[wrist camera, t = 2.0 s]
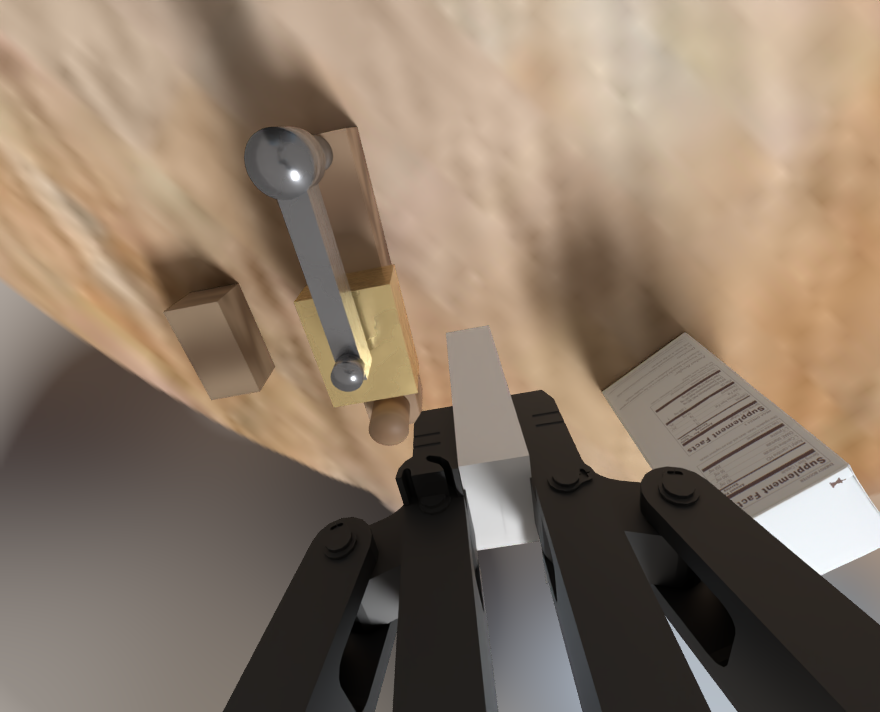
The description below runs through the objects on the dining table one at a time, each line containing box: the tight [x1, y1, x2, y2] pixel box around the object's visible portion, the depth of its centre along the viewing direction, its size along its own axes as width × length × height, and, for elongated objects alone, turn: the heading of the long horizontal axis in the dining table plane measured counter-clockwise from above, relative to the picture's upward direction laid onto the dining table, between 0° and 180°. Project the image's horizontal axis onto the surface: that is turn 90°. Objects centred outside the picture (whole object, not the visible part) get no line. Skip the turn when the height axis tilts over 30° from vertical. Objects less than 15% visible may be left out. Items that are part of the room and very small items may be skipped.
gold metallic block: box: [294, 265, 419, 407], centre depth 29 cm, size 8×6×4 cm
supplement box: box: [602, 332, 880, 575], centre depth 33 cm, size 10×9×17 cm
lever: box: [244, 126, 372, 392], centre depth 22 cm, size 14×3×4 cm, turn 11°
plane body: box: [313, 127, 422, 446], centre depth 31 cm, size 22×4×9 cm, turn 11°
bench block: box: [163, 283, 275, 400], centre depth 35 cm, size 8×4×4 cm, turn 11°
